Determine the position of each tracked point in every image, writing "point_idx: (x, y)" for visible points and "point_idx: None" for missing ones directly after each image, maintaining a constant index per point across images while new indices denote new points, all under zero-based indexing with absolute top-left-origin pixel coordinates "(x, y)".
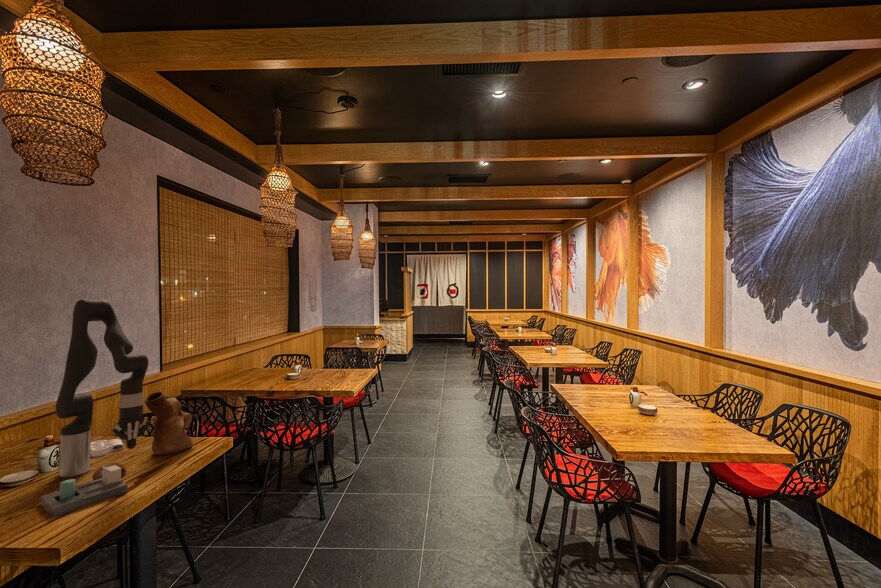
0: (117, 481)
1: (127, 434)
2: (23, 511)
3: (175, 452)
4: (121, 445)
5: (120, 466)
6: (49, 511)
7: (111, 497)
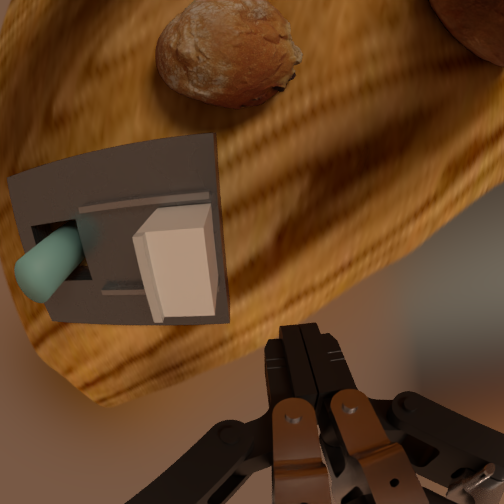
0: None
1: (272, 489)
2: (4, 190)
3: (474, 53)
4: None
5: (269, 76)
6: None
7: None
